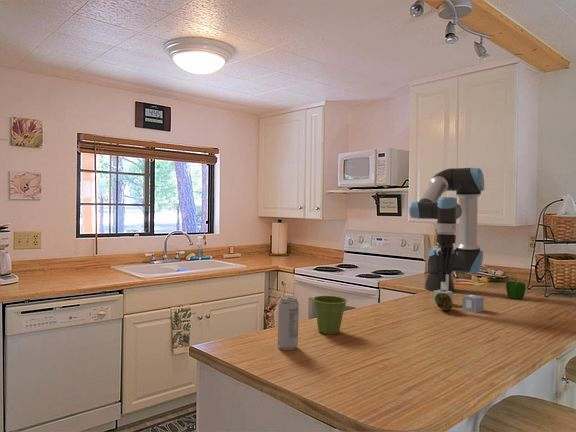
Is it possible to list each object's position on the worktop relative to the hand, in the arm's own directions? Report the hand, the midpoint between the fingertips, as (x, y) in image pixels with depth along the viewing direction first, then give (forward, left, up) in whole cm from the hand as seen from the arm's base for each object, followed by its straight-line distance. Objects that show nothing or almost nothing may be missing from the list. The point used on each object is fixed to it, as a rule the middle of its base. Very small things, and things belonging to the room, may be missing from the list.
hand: (444, 289), depth 183 cm
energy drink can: (+4, -85, -9) cm, 85 cm away
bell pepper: (+3, +55, -9) cm, 56 cm away
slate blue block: (+6, +12, -9) cm, 16 cm away
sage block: (-8, +11, -9) cm, 17 cm away
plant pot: (-2, -63, -9) cm, 64 cm away
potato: (0, 0, -9) cm, 9 cm away
